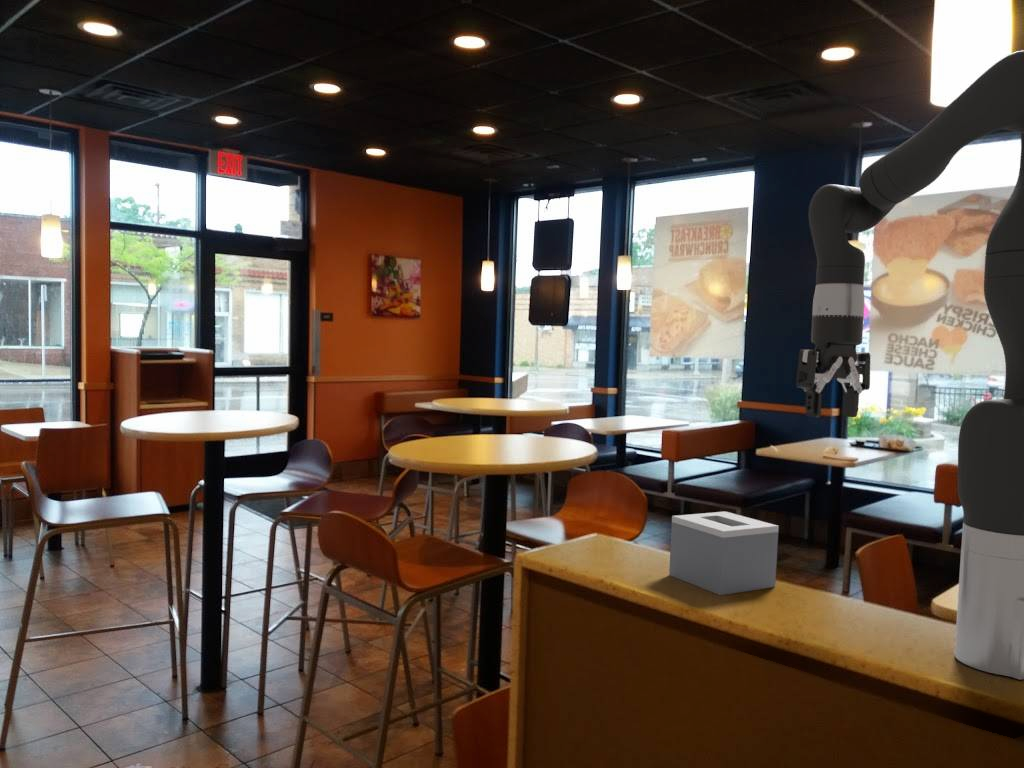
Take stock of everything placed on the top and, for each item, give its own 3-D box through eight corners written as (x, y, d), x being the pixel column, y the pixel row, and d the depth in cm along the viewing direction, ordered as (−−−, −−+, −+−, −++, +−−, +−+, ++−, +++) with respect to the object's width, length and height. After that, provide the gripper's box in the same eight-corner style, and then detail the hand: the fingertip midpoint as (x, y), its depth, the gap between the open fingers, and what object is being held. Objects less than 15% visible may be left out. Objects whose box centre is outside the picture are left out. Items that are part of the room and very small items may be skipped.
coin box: (775, 586, 132) (778, 525, 132) (720, 595, 127) (723, 531, 126) (722, 568, 143) (725, 511, 142) (669, 575, 137) (672, 515, 137)
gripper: (826, 311, 122) (820, 419, 123) (888, 316, 129) (881, 418, 130) (787, 312, 128) (781, 415, 129) (847, 317, 135) (842, 414, 136)
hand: (831, 416), depth 129 cm, fingers open, 8 cm apart
